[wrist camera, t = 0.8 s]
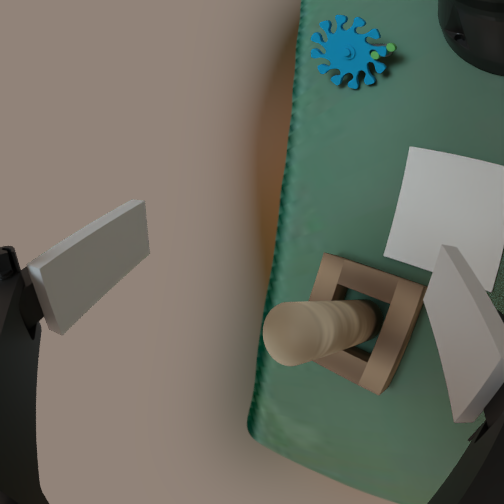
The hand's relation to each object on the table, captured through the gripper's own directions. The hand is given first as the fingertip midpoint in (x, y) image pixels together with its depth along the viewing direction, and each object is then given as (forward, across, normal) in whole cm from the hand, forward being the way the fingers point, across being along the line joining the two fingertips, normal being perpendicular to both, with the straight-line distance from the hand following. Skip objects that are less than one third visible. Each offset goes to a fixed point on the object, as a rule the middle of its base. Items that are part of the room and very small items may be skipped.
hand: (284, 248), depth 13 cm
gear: (+31, +5, +12) cm, 34 cm away
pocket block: (+15, +7, -14) cm, 22 cm away
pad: (+17, +14, -2) cm, 22 cm away
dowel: (+15, +7, -14) cm, 22 cm away
